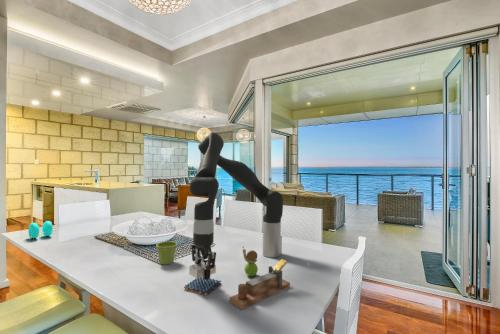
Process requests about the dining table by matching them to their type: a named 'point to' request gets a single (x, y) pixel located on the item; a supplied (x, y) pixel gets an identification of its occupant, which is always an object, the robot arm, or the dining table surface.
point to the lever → (279, 266)
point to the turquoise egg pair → (46, 229)
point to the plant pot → (166, 252)
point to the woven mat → (202, 285)
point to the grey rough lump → (199, 270)
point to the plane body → (259, 289)
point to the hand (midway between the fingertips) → (202, 276)
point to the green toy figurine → (250, 262)
